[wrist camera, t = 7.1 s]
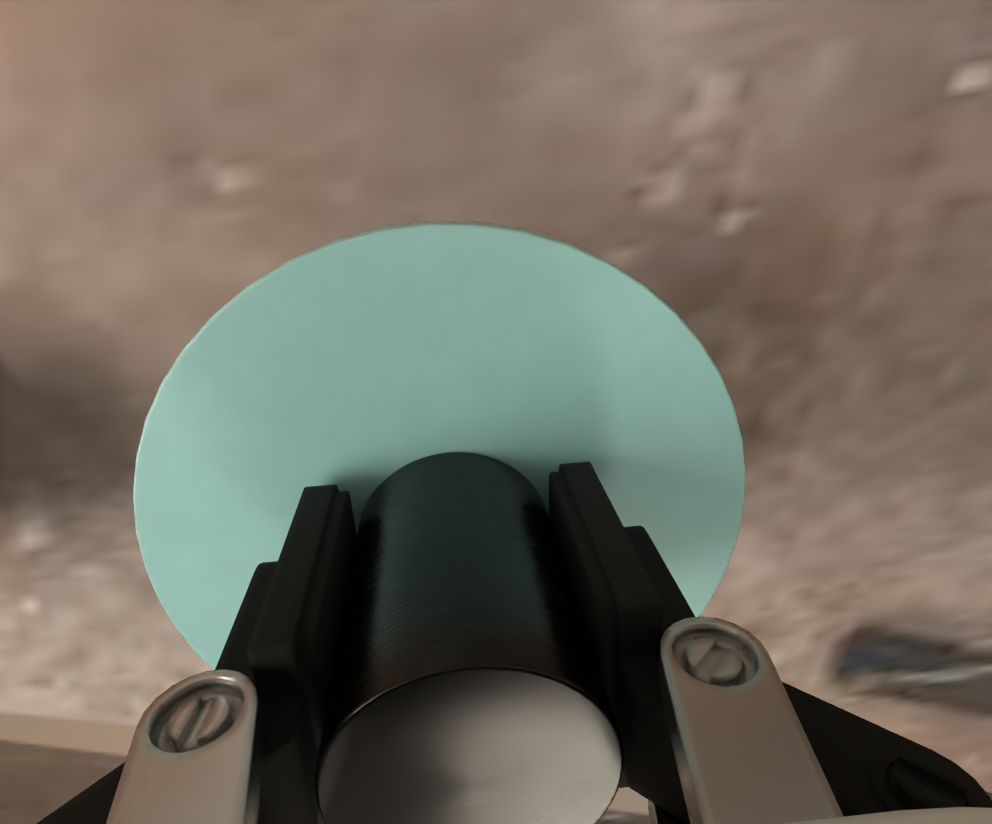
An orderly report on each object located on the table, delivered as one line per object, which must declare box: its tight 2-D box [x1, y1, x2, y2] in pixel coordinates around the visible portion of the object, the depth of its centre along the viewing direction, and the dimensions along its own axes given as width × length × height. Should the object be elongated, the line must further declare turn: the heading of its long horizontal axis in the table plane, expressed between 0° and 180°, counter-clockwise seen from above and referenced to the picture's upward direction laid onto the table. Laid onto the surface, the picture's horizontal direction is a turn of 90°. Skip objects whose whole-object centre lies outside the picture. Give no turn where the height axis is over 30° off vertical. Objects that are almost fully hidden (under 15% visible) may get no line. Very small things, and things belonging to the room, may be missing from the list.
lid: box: [133, 221, 746, 824], centre depth 10 cm, size 11×11×6 cm
